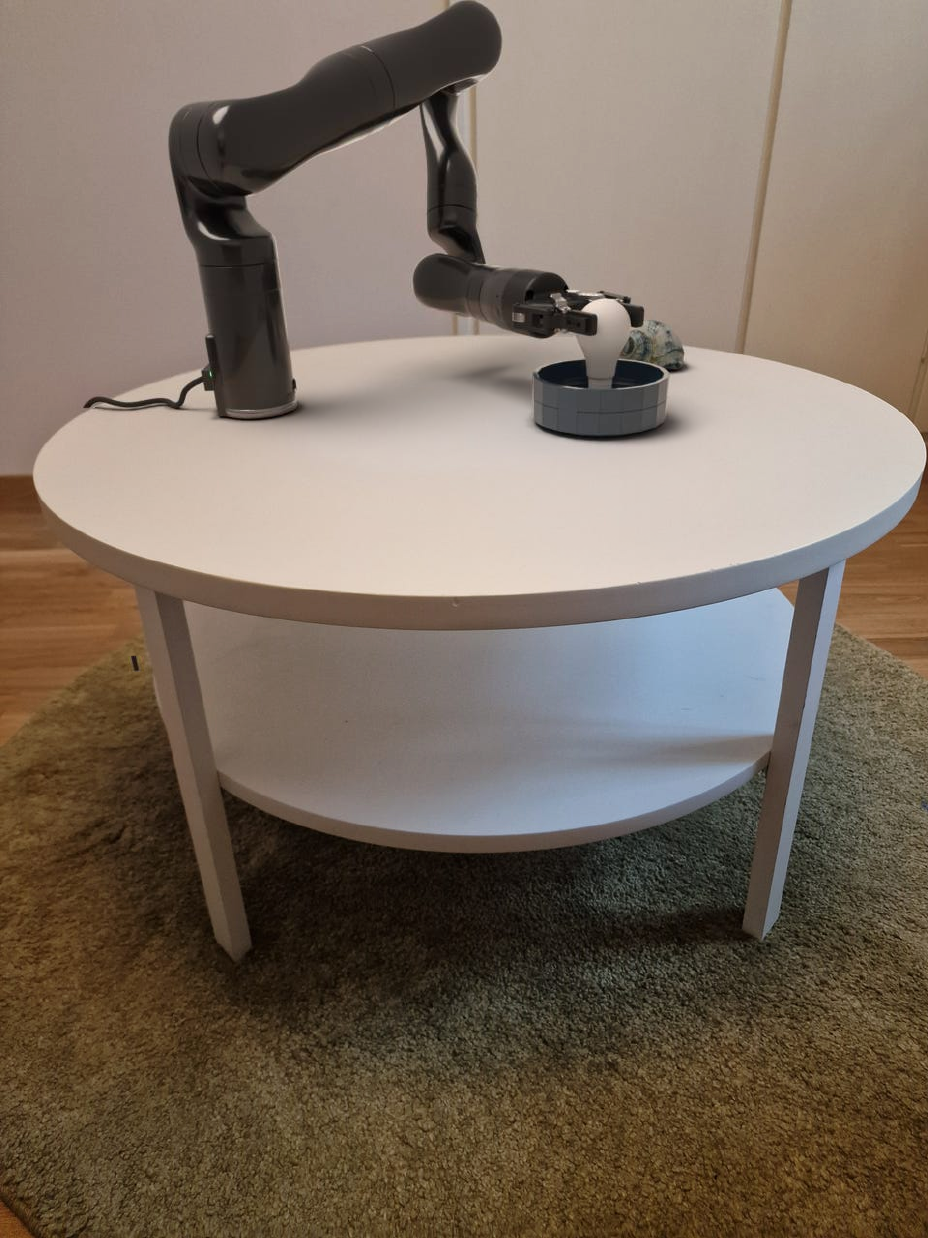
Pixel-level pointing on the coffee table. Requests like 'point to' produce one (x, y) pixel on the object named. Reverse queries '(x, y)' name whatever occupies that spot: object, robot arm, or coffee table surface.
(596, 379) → the lightbulb
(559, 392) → the bowl
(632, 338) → the seashell
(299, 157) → the robot arm
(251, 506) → the coffee table surface
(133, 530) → the coffee table surface
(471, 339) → the coffee table surface
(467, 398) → the coffee table surface
